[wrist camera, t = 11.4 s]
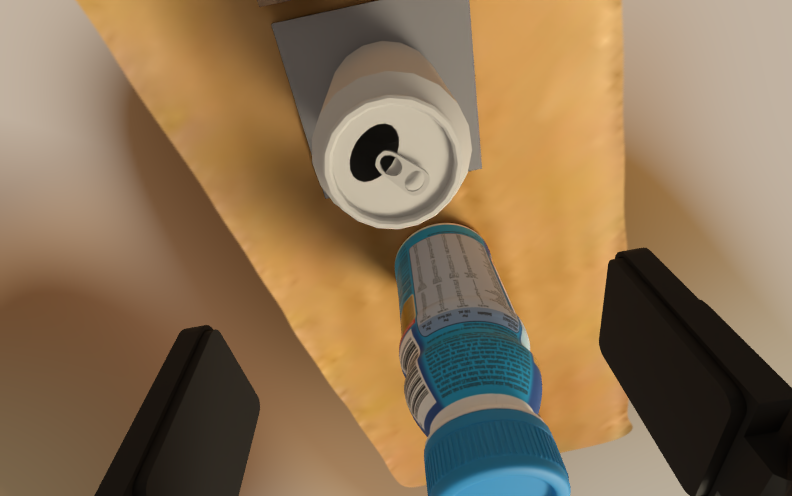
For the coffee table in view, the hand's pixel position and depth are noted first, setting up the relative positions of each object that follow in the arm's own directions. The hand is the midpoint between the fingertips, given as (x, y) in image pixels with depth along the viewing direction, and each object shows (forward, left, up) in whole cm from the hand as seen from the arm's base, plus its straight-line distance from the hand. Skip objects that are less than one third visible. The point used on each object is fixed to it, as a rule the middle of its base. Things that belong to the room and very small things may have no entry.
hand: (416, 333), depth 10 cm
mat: (0, 0, -22) cm, 22 cm away
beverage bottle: (+14, +2, -22) cm, 26 cm away
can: (0, 0, -22) cm, 22 cm away
